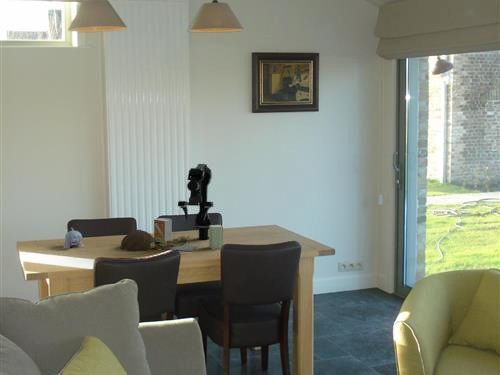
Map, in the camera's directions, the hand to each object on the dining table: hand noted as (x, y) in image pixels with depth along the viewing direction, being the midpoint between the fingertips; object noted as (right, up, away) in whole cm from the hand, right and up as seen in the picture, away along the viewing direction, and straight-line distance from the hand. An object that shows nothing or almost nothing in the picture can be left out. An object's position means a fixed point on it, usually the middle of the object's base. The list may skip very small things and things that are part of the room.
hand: (195, 219), depth 397 cm
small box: (-20, -14, +17) cm, 30 cm away
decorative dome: (-31, -16, +2) cm, 35 cm away
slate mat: (-6, -16, -1) cm, 17 cm away
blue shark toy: (-67, -15, +2) cm, 68 cm away
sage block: (+11, -15, +3) cm, 19 cm away
